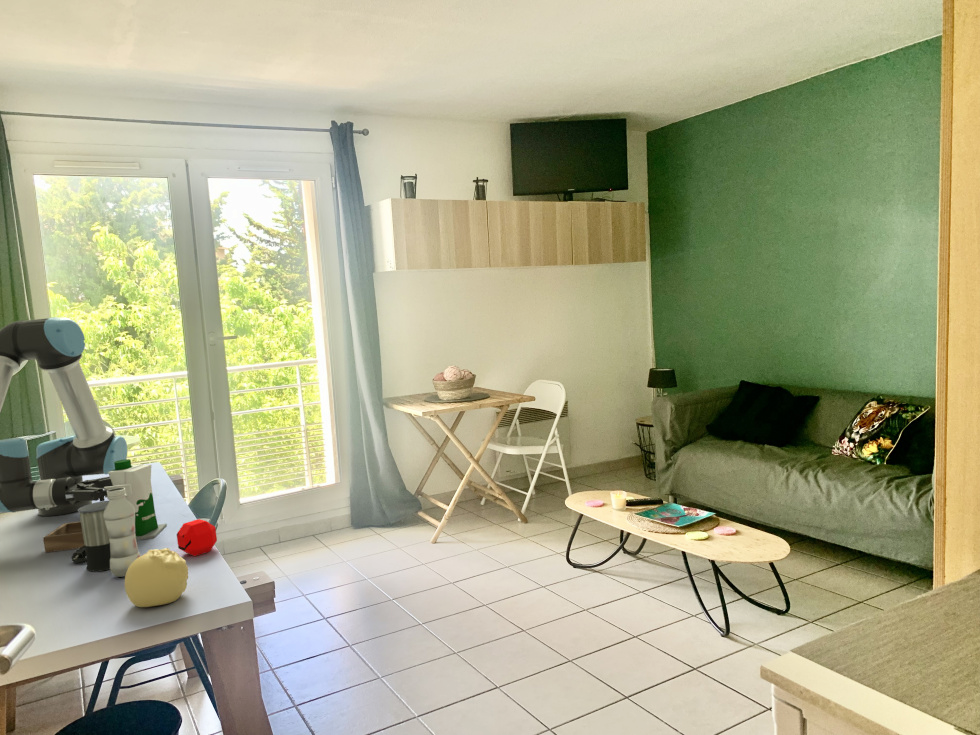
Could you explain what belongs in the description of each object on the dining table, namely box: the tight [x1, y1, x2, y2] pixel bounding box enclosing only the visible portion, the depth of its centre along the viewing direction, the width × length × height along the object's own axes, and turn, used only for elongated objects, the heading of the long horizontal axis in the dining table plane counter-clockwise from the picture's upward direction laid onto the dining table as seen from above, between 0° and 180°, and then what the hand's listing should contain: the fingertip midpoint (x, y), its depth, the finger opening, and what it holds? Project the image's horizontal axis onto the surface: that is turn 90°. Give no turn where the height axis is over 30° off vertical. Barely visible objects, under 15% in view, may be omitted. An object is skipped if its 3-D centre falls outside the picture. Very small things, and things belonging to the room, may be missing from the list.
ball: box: [176, 518, 218, 557], centre depth 180 cm, size 8×8×8 cm
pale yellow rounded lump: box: [124, 547, 189, 608], centre depth 150 cm, size 12×12×11 cm
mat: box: [136, 523, 168, 541], centre depth 201 cm, size 11×11×1 cm
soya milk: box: [107, 459, 159, 536], centre depth 199 cm, size 9×9×20 cm
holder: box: [42, 520, 85, 554], centre depth 198 cm, size 13×13×4 cm
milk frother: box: [70, 500, 136, 572], centre depth 178 cm, size 14×16×15 cm
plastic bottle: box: [103, 488, 141, 578], centre depth 167 cm, size 6×7×20 cm
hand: (139, 483), depth 200 cm, fingers open, 13 cm apart
